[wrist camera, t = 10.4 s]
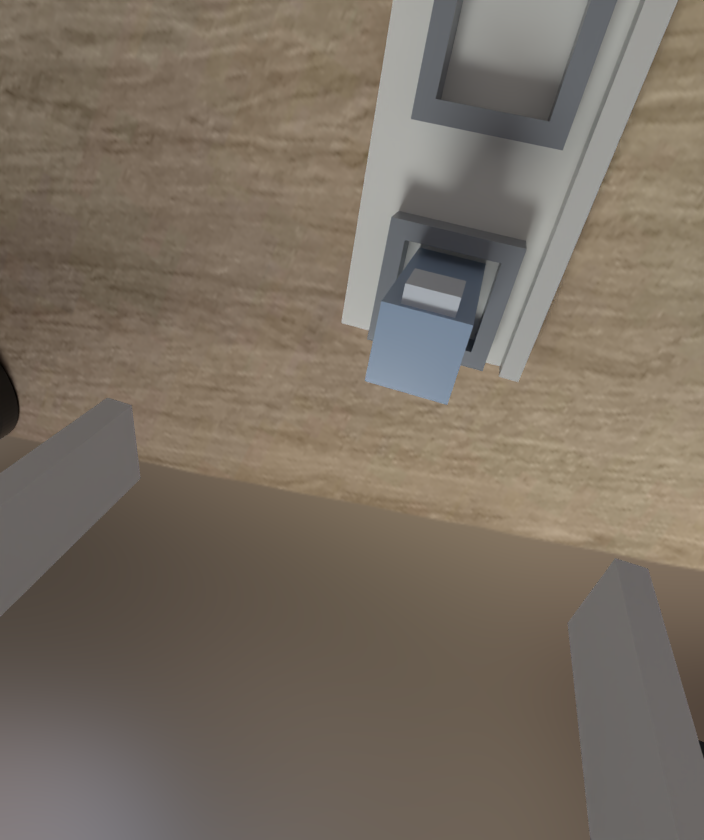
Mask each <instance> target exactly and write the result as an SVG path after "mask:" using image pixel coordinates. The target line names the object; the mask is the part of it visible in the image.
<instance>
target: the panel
mask: <svg viewBox="0 0 704 840" xmlns="http://www.w3.org/2000/svg"><path fill="white" fill-rule="evenodd" d="M677 1H678V0H393V4H392V10H391V17H390V23H389V29H388V35H387V42H386V48H385V54H384V60H383V67H382V73H381V79H380V85H379V92H378V98H377V104H376V110H375V117H374V123H373V129H372V135H371V142H370V148H369V154H368V160H367V167H366V173H365V179H364V185H363V192H362V198H361V204H360V210H359V217H358V223H357V229H356V235H355V241H354V248H353V254H352V260H351V266H350V273H349V279H348V285H347V291H346V298H345V304H344V310H343V316H342V323H344V324H347V325H351V326H355V327H358V328H362V329H365V330H369V333H368V338H367V339H368V340H372V341H373V339H374V334H375V329H376V324H377V319H378V315H379V310H380V305H381V301H382V299H383V298H384V297H385V295H386V294H387V292H388V291H389V290H390V288H391V287H392V285H393V284H394V283H395V281H396V280H397V278H398V277H399V276H400V274H401V273H402V271H403V270H404V268H405V267H406V266H407V264H408V263H409V261H410V260H411V259H412V257H413V256H414V254H415V253H416V252H417V250H418V249H419V247H420V248H424V249H428V250H432V251H436V252H440V253H444V254H448V255H453V256H457V257H461V258H465V259H469V260H473V261H477V262H481V263H485V264H486V266H485V271H484V276H483V281H482V285H481V290H480V295H479V300H478V305H477V310H476V315H475V320H474V325H473V328H472V331H471V334H470V337H469V340H468V343H467V346H466V349H465V352H464V355H463V359H462V362H461V365H462V366H466V367H469V368H473V369H477V370H480V371H483V368H484V365H485V363H490V364H493V365H497V366H500V367H499V377H502V378H506V379H509V380H513V381H517V382H518V381H519V379H520V376H521V374H522V371H523V369H524V367H525V364H526V362H527V360H528V357H529V355H530V352H531V350H532V348H533V345H534V343H535V340H536V338H537V336H538V333H539V331H540V329H541V326H542V324H543V321H544V319H545V317H546V314H547V312H548V309H549V307H550V305H551V302H552V300H553V297H554V295H555V293H556V290H557V288H558V286H559V283H560V281H561V278H562V276H563V274H564V271H565V269H566V266H567V264H568V262H569V259H570V257H571V255H572V252H573V250H574V247H575V245H576V243H577V240H578V238H579V235H580V233H581V231H582V228H583V226H584V223H585V221H586V219H587V216H588V214H589V212H590V209H591V207H592V204H593V202H594V200H595V197H596V195H597V192H598V190H599V188H600V185H601V183H602V180H603V178H604V176H605V173H606V171H607V169H608V166H609V164H610V161H611V159H612V157H613V154H614V152H615V149H616V147H617V145H618V142H619V140H620V138H621V135H622V133H623V130H624V128H625V126H626V123H627V121H628V118H629V116H630V114H631V111H632V109H633V106H634V104H635V102H636V99H637V97H638V95H639V92H640V90H641V87H642V85H643V83H644V80H645V78H646V75H647V73H648V71H649V68H650V66H651V64H652V61H653V59H654V56H655V54H656V52H657V49H658V47H659V44H660V42H661V40H662V37H663V35H664V32H665V30H666V28H667V25H668V23H669V21H670V18H671V16H672V13H673V11H674V9H675V6H676V4H677Z"/></svg>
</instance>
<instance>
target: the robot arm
mask: <svg viewBox="0 0 704 840" xmlns="http://www.w3.org/2000/svg"><path fill="white" fill-rule="evenodd" d="M17 419H18V404H17V399H16V396H15V393H14V390H13V387H12V385H11V383H10V381H9V379H8V377H7V375H6V373H5V371H4V370H3V368H2V366H1V365H0V439H1V438H3V437H4V436H6V435H8V434H9V433H10V432H11V431H12V430H13V429H14V427H15V425H16V423H17ZM139 479H140V470H139V462H138V454H137V445H136V437H135V429H134V421H133V413H132V405H129V404H126V403H123V402H120V401H117V400H113V399H110V398H106V399H105V400H103V401H102V402H100V403H99V404H98V405H96V406H95V407H93V408H92V409H90V410H89V411H88V412H86V413H85V414H83V415H82V416H81V417H79V418H78V419H76V420H75V421H73V422H72V423H71V424H69V425H68V426H66V427H65V428H64V429H62V430H61V431H59V432H58V433H56V434H55V435H54V436H52V437H51V438H49V439H48V440H47V441H45V442H44V443H42V444H41V445H39V446H38V447H37V448H35V449H34V450H32V451H31V452H30V453H28V454H27V455H25V456H24V457H22V458H21V459H20V460H18V461H17V462H15V463H14V464H13V465H11V466H10V467H8V468H7V469H5V470H4V471H3V472H1V473H0V616H1V615H2V614H3V613H4V612H5V611H6V610H7V609H8V608H9V607H10V606H11V605H12V604H13V603H15V601H16V600H18V599H19V598H20V597H21V596H22V594H24V593H25V592H26V591H27V590H28V589H29V588H30V587H31V586H32V585H33V584H34V583H35V582H36V581H37V580H38V579H39V578H40V577H41V576H42V575H43V574H44V573H45V572H46V571H47V570H48V569H49V568H50V567H51V566H52V565H53V564H54V563H55V562H56V561H57V560H58V559H59V558H60V557H61V556H62V555H63V554H64V553H65V552H66V551H67V550H68V549H69V548H70V547H71V546H72V545H73V544H74V543H75V542H76V541H77V540H78V539H79V538H80V537H82V536H83V535H84V534H85V533H86V531H88V530H89V529H90V527H92V526H93V525H94V524H95V523H96V522H97V521H98V520H99V519H100V518H101V517H102V516H103V515H104V514H105V513H106V512H107V511H108V510H109V509H110V508H111V507H112V506H113V505H114V504H115V503H116V502H117V501H118V500H119V499H120V498H121V497H122V496H123V495H124V494H125V493H126V492H127V491H128V490H129V489H130V488H131V487H132V486H133V485H134V484H135V483H136V482H137V481H138V480H139ZM568 630H569V640H570V649H571V659H572V668H573V678H574V688H575V696H576V707H577V716H578V726H579V735H580V744H581V754H582V764H583V773H584V783H585V792H586V802H587V810H588V811H587V812H588V821H589V831H590V840H704V742H702V741H699V740H698V737H697V734H696V731H695V727H694V724H693V720H692V717H691V713H690V710H689V707H688V703H687V700H686V697H685V693H684V690H683V686H682V683H681V679H680V676H679V673H678V669H677V666H676V662H675V659H674V655H673V652H672V649H671V645H670V642H669V638H668V635H667V632H666V628H665V625H664V621H663V618H662V614H661V611H660V608H659V604H658V601H657V597H656V594H655V591H654V587H653V584H652V580H651V577H650V574H649V570H648V568H644V567H641V566H638V565H635V564H632V563H629V562H626V561H622V560H619V559H616V558H615V559H614V561H613V562H612V563H611V565H610V566H609V567H608V569H607V570H606V572H605V573H604V574H603V576H602V577H601V578H600V580H599V581H598V582H597V584H596V585H595V587H594V588H593V589H592V591H591V592H590V593H589V595H588V596H587V597H586V599H585V600H584V602H583V603H582V604H581V606H580V607H579V608H578V610H577V611H576V612H575V614H574V615H573V617H572V618H571V619H570V621H569V622H568Z"/></svg>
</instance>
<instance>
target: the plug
mask: <svg viewBox="0 0 704 840" xmlns="http://www.w3.org/2000/svg"><path fill="white" fill-rule="evenodd" d="M485 266H486V264H485V263H481V262H477V261H473V260H469V259H465V258H461V257H457V256H453V255H448V254H444V253H440V252H436V251H432V250H428V249H424V248H420V247H419V249H418V250H417V252H416V253H415V254H414V256H413V257H412V259H411V260H410V261H409V263H408V264H407V266H406V267H405V268H404V270H403V271H402V273H401V274H400V276H399V277H398V278H397V280H396V281H395V283H394V284H393V285H392V287H391V288H390V290H389V291H388V292H387V294H386V295H385V297H384V298H383V299H382V301H381V305H380V310H379V315H378V319H377V324H376V329H375V334H374V339H373V344H372V349H371V354H370V358H369V363H368V368H367V373H366V378H365V381H367V382H370V383H374V384H377V385H380V386H384V387H387V388H391V389H394V390H398V391H401V392H405V393H408V394H412V395H415V396H418V397H422V398H425V399H429V400H432V401H436V402H439V403H443V404H446V405H447V404H448V401H449V398H450V395H451V392H452V389H453V386H454V383H455V380H456V377H457V374H458V371H459V368H460V365H461V362H462V359H463V355H464V352H465V349H466V346H467V343H468V340H469V337H470V334H471V331H472V328H473V325H474V320H475V315H476V310H477V305H478V300H479V295H480V290H481V285H482V281H483V276H484V271H485Z"/></svg>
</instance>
